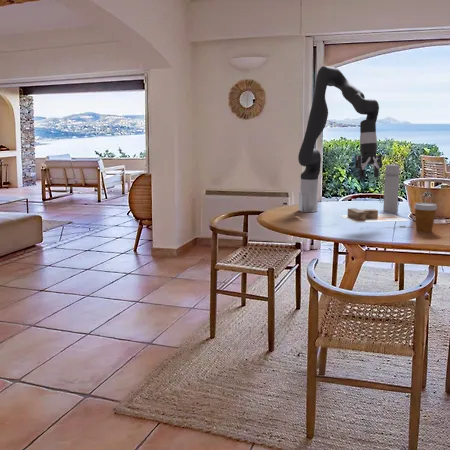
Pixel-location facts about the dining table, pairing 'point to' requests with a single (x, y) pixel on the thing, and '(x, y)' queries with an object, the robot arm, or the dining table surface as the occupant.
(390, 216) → the board
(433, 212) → the disposable coffee cup
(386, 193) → the water bottle
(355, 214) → the tee block
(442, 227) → the dining table surface
